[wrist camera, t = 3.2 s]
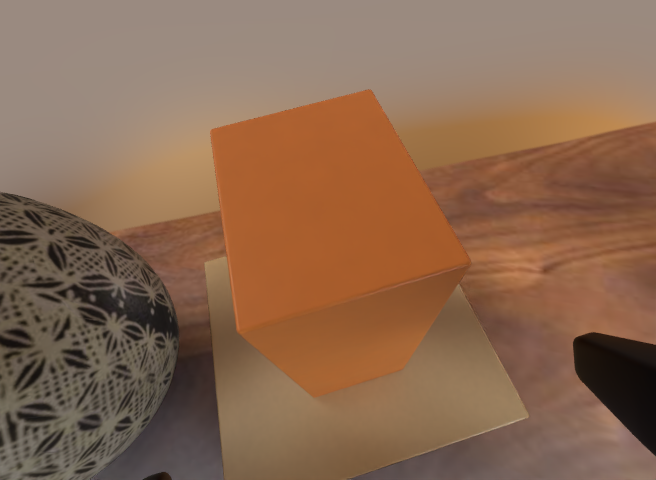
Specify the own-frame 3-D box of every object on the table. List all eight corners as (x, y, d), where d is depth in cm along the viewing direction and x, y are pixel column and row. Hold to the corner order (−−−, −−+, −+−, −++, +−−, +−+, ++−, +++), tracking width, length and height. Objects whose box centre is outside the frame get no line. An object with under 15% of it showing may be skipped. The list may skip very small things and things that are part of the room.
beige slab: (488, 422, 17) (531, 417, 13) (262, 498, 16) (226, 521, 12) (404, 246, 23) (415, 202, 18) (234, 296, 22) (203, 261, 17)
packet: (403, 369, 14) (474, 263, 5) (313, 398, 14) (235, 334, 5) (365, 268, 17) (371, 87, 8) (288, 291, 16) (208, 128, 8)
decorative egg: (212, 266, 23) (23, 48, 10) (225, 465, 17) (-213, 557, 4) (41, 309, 22) (-395, 134, 9) (-10, 531, 16) (-1441, 900, 3)
